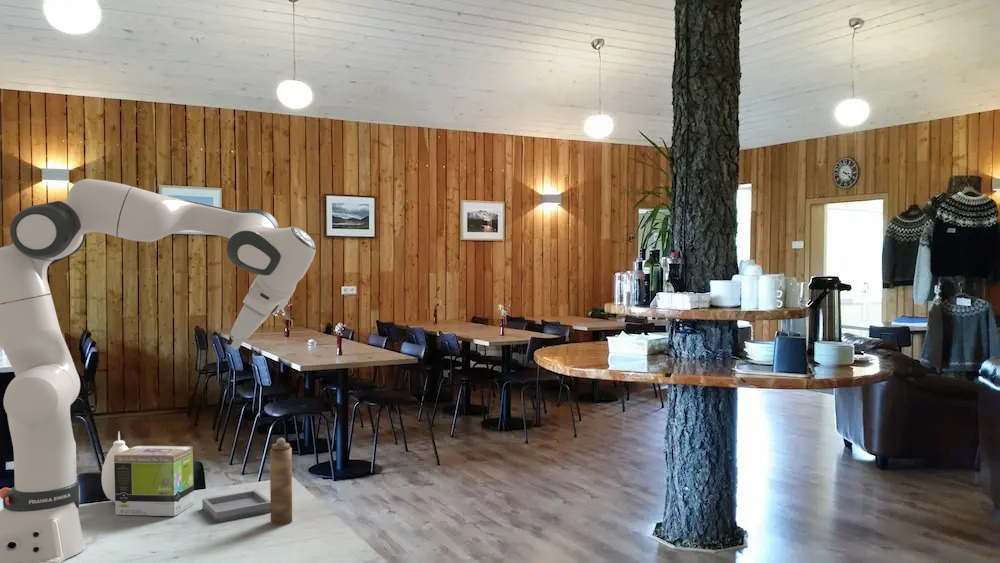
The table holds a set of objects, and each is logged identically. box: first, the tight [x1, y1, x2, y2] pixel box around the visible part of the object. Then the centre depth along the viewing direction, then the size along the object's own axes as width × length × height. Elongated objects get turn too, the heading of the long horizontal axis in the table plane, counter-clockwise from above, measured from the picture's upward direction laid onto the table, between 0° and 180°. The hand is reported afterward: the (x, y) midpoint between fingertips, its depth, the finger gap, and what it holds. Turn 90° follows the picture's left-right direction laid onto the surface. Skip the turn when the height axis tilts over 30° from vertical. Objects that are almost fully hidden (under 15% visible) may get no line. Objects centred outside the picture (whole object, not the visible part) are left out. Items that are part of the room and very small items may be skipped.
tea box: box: [114, 445, 195, 517], centre depth 186 cm, size 15×10×15 cm
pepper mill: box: [269, 437, 293, 526], centre depth 178 cm, size 5×5×20 cm
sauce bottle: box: [101, 431, 130, 503], centre depth 192 cm, size 8×8×18 cm
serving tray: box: [202, 489, 271, 524], centre depth 186 cm, size 13×12×2 cm
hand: (241, 340), depth 178 cm, fingers open, 8 cm apart
